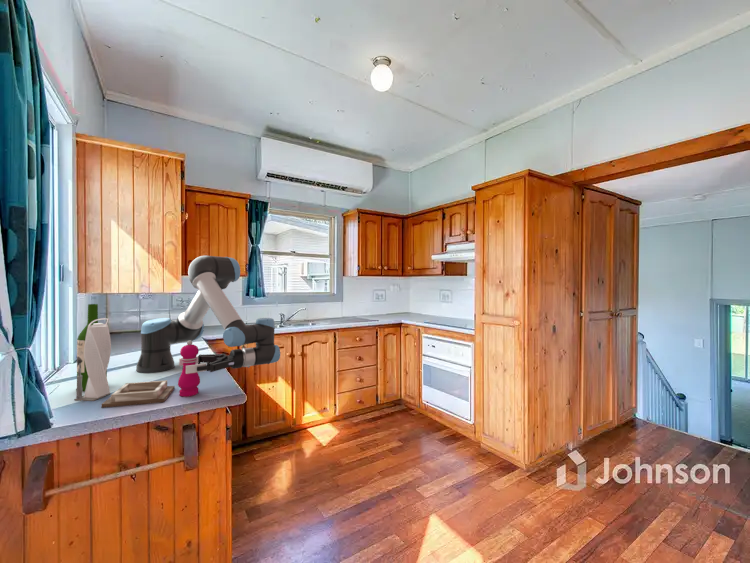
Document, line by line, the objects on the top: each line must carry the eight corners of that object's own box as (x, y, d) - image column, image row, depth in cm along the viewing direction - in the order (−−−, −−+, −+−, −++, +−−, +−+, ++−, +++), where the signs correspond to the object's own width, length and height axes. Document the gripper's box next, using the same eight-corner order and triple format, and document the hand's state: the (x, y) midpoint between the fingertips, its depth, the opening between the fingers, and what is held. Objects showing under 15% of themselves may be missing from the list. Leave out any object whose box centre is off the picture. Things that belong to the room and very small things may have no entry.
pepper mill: (190, 398, 121) (190, 342, 121) (173, 396, 123) (173, 341, 123) (204, 391, 128) (204, 339, 128) (187, 390, 130) (188, 338, 130)
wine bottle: (71, 389, 128) (72, 304, 128) (97, 383, 136) (98, 303, 136) (86, 392, 125) (87, 305, 125) (112, 385, 133) (113, 304, 133)
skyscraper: (95, 392, 126) (96, 317, 125) (116, 392, 125) (117, 318, 125) (74, 400, 117) (75, 320, 117) (97, 401, 117) (97, 320, 117)
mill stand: (119, 393, 125) (119, 383, 125) (174, 388, 131) (174, 379, 131) (101, 407, 111) (101, 396, 111) (163, 402, 117) (163, 391, 117)
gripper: (251, 374, 127) (188, 384, 114) (232, 361, 147) (176, 368, 134) (252, 354, 127) (189, 362, 114) (232, 344, 147) (177, 349, 134)
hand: (182, 365), depth 124 cm, fingers open, 13 cm apart
